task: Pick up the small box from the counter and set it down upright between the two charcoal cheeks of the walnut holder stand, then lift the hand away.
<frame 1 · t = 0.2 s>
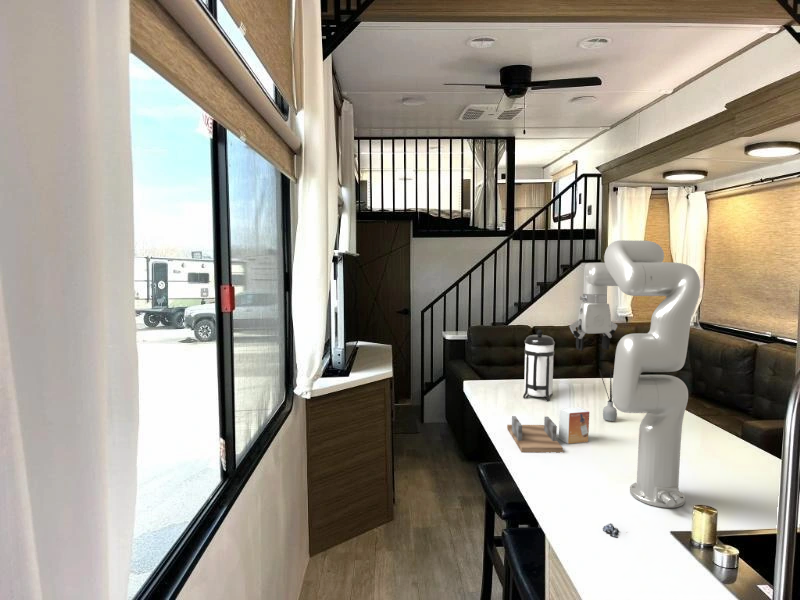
hand: (592, 349, 171), 30 cm above the table, tool pointing down, fingers open, 9 cm apart
reed diffuser: (606, 420, 191), on the table
small box: (573, 441, 169), on the table
blueberries: (613, 534, 112), on the table
holder stand: (533, 439, 169), on the table
coffee press: (538, 398, 221), on the table
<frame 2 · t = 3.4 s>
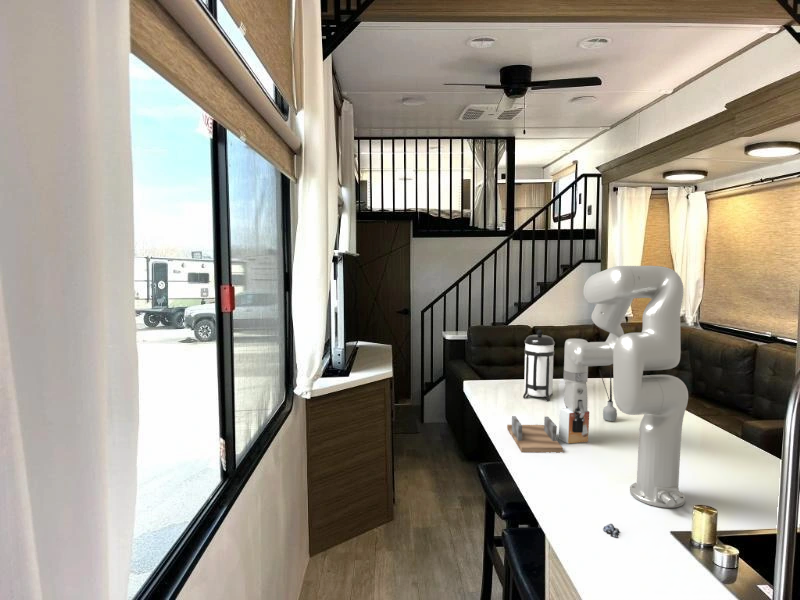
hand: (573, 427, 169), 4 cm above the table, tool pointing down, fingers closed on small box, 6 cm apart
small box: (573, 440, 169), on the table, touching gripper
everything else where it was.
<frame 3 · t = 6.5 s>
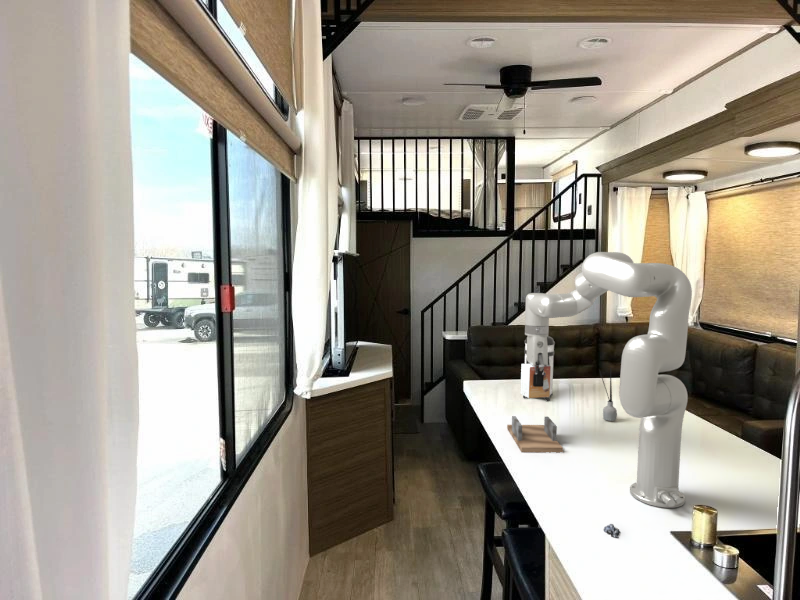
hand: (535, 383, 168), 19 cm above the table, tool pointing down, fingers closed on small box, 6 cm apart
small box: (535, 396, 168), point 15 cm above the table, touching gripper
everything else where it was.
when the fingers open (7 cm above the table, at t = 9.7 s): small box drops 1 cm, resting on holder stand.
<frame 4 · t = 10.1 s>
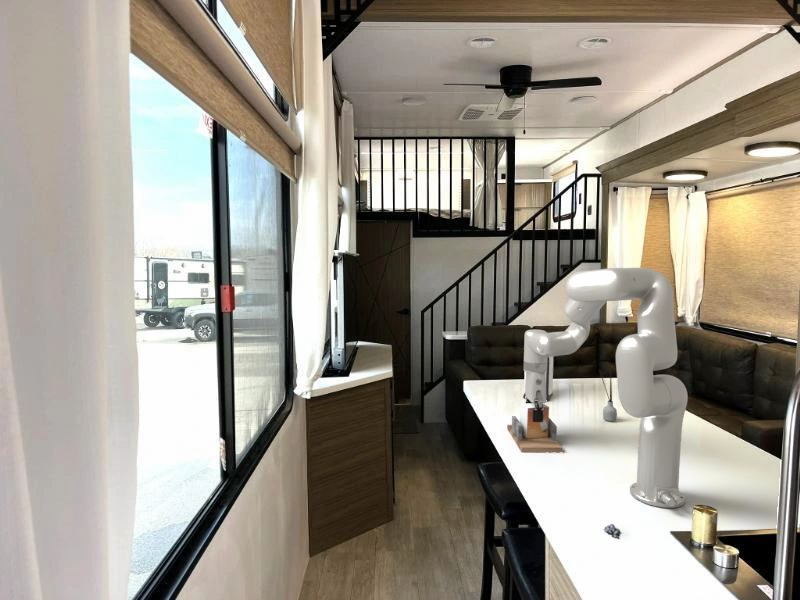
hand: (533, 417, 169), 8 cm above the table, tool pointing down, fingers open, 9 cm apart
small box: (533, 436, 169), point 1 cm above the table, touching holder stand
everything else where it was.
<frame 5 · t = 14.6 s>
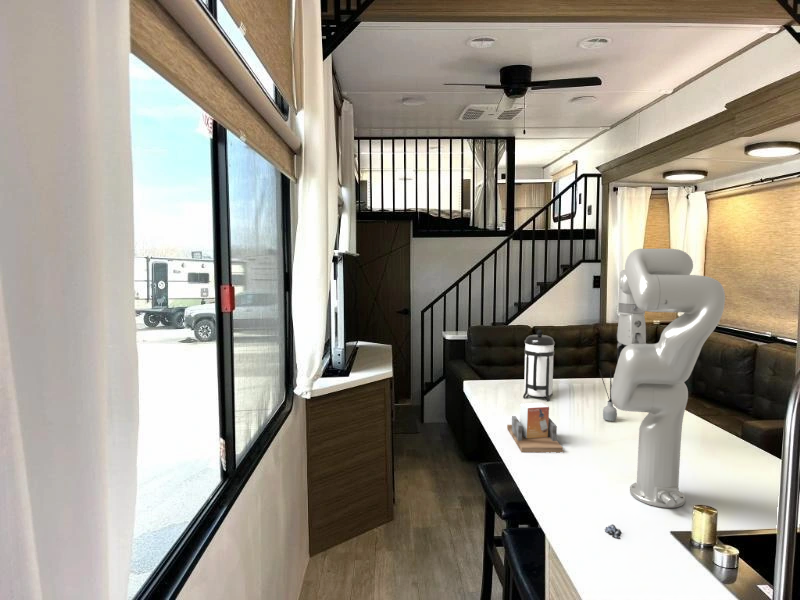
hand: (629, 363, 157), 28 cm above the table, tool pointing down, fingers open, 9 cm apart
nothing on the table moved.
at the end: small box 0.1 cm off-centre on the holder stand, point 1.3 cm above the holder stand's base; small box tilted 0°; the gripper is holding nothing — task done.
